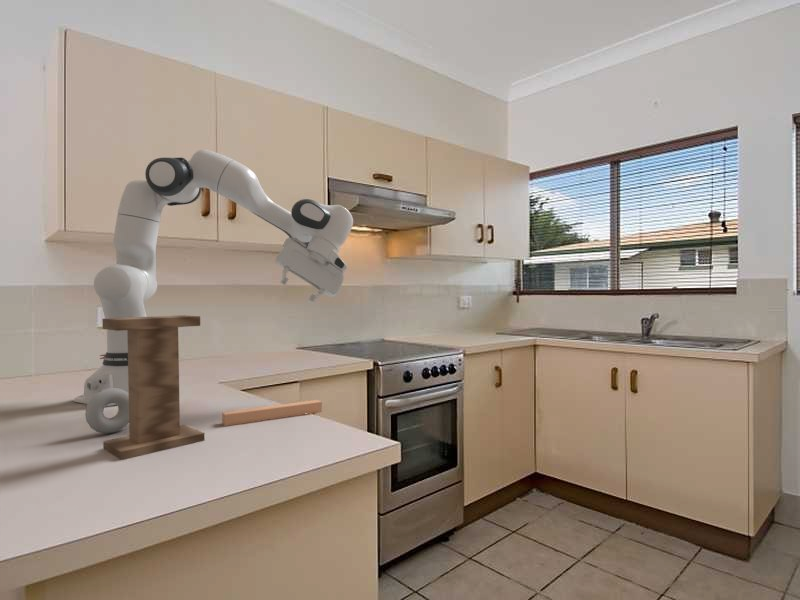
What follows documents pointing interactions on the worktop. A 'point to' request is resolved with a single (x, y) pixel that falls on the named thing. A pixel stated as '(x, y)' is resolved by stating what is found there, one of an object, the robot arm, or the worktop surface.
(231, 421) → the rod
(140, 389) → the stand
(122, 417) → the donut
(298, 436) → the worktop surface
